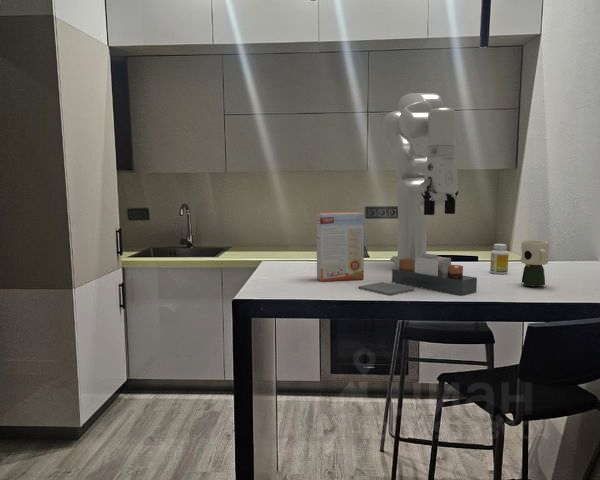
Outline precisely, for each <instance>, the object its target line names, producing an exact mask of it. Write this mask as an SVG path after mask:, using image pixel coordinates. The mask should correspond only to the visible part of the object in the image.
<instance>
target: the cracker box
mask: <svg viewBox="0 0 600 480" xmlns="http://www.w3.org/2000/svg"><path fill="white" fill-rule="evenodd" d="M315 215H316V216H315V217H316V218H315V220H316V221H315V222H316V225H315V226H316V230H315V231H316V235H315V236H316V279H317V280H319V282H336V281H356V280H364V277H365V274H364V273H365V264H364V263H365V255H364V252H365V248H364V247H365V246H364V245H365V244H364V243H365V239H364V238H365V233H364V231H365V230H364V229H365V227H364V226H365V225H364V224H365V223H364V221H365V220H364V219H365V218H364V212H359V211H356V212H355V211H353V212H351V211H350V212H319V213H318V212H317V213H316V214H315Z"/></svg>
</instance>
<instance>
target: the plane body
mask: <svg viewBox="0 0 600 480" xmlns="http://www.w3.org/2000/svg"><path fill="white" fill-rule="evenodd" d="M463 272H464V266H463V265H462V264H461V265H460V264H451V265H448V274H447V275H442V276H433V275H427V274H421V273H415V259H408V258H404V259H399V268H397V269H393V268H392V271H391V283H393V282H395V283H394V284H398V283H400V285H404V284H406V285H405V286H409V285H411V286H410V287H414V286H417V287H416V288H419V287H423V288H422V289H425V288H427V289H426V290H430V289H432V290H431V291H435V290H436V291H437V292H440V291H441V293H446V294H451V295H456V296H465V295H470V294H474V293H476V292H477V290H478V289H477V287H478V285H477V283H478V278H477V277H475V276H471V275H470V276H469V275H464V273H463Z"/></svg>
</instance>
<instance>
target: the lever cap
mask: <svg viewBox="0 0 600 480" xmlns="http://www.w3.org/2000/svg"><path fill="white" fill-rule="evenodd" d="M448 265H452V257H443V256H439V254H435V253H434V254H433V253H426V254H422V256H420V257H415V273H421V274H427V275H433V276H442V275H447V274H448Z"/></svg>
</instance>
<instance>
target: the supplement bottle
mask: <svg viewBox="0 0 600 480" xmlns="http://www.w3.org/2000/svg"><path fill="white" fill-rule="evenodd" d="M507 249H508V248H507V244H505V243H494V244H493V249H492V250H491V252H490V271H489V272H490V273H491V274H494V275H495V274H496V275H507V274H508V271H509V251H508V250H507ZM506 273H507V274H506Z"/></svg>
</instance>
